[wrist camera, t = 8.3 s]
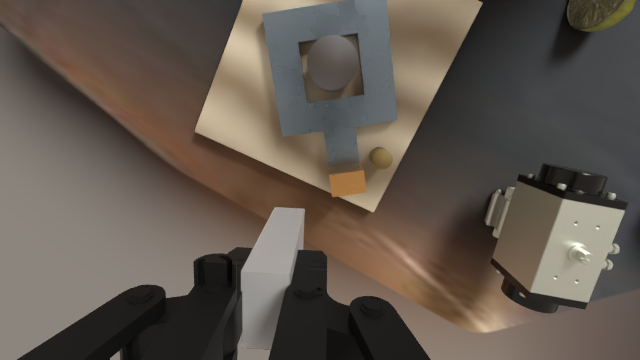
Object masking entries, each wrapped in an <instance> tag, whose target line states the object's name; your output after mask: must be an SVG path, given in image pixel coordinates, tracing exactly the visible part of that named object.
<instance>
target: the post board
mask: <svg viewBox="0 0 640 360" xmlns="http://www.w3.org/2000/svg"><path fill="white" fill-rule="evenodd" d="M338 1H344V0H243V2H242V5H241V8H240V10H239V13H238V16H237V18H236V21H235V24H234V26H233V29H232V32H231V34H230V37H229V40H228V42H227V45H226V48H225V50H224V53H223V56H222V58H221V61H220V64H219V67H218V69H217V72H216V75H215V77H214V80H213V83H212V85H211V88H210V91H209V93H208V96H207V99H206V101H205V104H204V107H203V109H202V112H201V115H200V117H199V120H198V123H197V126H196V128H195V131H194V132H197V133H199V134H201V135H203V136H205V137H208V138H210V139H212V140H214V141H216V142H219V143H221V144H223V145H225V146H227V147H230V148H232V149H234V150H236V151H239V152H241V153H243V154H245V155H247V156H250V157H252V158H254V159H256V160H258V161H261V162H263V163H265V164H267V165H269V166H272V167H274V168H276V169H278V170H281V171H283V172H285V173H287V174H289V175H292V176H294V177H296V178H298V179H300V180H303V181H305V182H307V183H309V184H311V185H314V186H316V187H318V188H320V189H323V190H325V191H327V192H329V193H331V185H330V178H329V164H328V157H327V150H326V143H325V136H324V131H322V132H314V133H307V134H300V135H293V136H286V137H282V131H281V125H280V119H279V113H278V107H277V101H276V95H275V89H274V83H273V77H272V71H271V65H270V59H269V53H268V47H267V41H266V35H265V29H264V23H263V17H262V14H263V13H269V12H276V11H282V10H288V9H294V8H300V7H307V6H313V5H319V4H325V3H331V2H338ZM482 4H483V3H482V2H480V1H478V0H387V9H388V20H389V31H390V42H391V53H392V64H393V75H394V86H395V97H396V108H397V119H398V121H392V122H385V123H378V124H371V125H364V126H357V127H355V128H356V137H357V145H358V154H359V162H360V165H361V166H362V168H363V170H364V177H365V185H366V193H360V194H353V195H345V196H338V197H340V198H342V199H345V200H347V201H349V202H351V203H353V204H356V205H358V206H360V207H362V208H365V209H367V210H369V211H371V212H373V213H374V211H375V209H376V207H377V205H378V203H379V201H380V199H381V198H382V196H383V194H384V192H385V190H386V188H387V186H388V184H389V182H390V180H391V178H392V176H393V175H394V173H395V171H396V169H397V167H398V165H399V163H400V161H401V159H402V157H403V155H404V153H405V151H406V150H407V148H408V146H409V144H410V142H411V140H412V138H413V136H414V134H415V132H416V130H417V128H418V127H419V125H420V123H421V121H422V119H423V117H424V115H425V113H426V111H427V109H428V107H429V105H430V104H431V102H432V100H433V98H434V96H435V94H436V92H437V90H438V88H439V86H440V84H441V82H442V81H443V79H444V77H445V75H446V73H447V71H448V69H449V67H450V65H451V63H452V61H453V59H454V57H455V56H456V54H457V52H458V50H459V48H460V46H461V44H462V42H463V40H464V38H465V36H466V34H467V33H468V31H469V29H470V27H471V25H472V23H473V21H474V19H475V17H476V15H477V13H478V11H479V10H480V8H481V6H482ZM299 47H300V54H301V61H302V67H303V74H304V81H305V88H306V95H307V102H308V103H311V102H318V101H324V100H331V99H338V98H345V97H352V96H359V95H363V88H362V79H361V70H360V61H359V52H358V43H357V36H351V37H342V36H338V35H327V36H324V37H322V38H320V39H318V40H317V41H316V42H312V43H306V44H299ZM331 194H332V193H331Z"/></svg>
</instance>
